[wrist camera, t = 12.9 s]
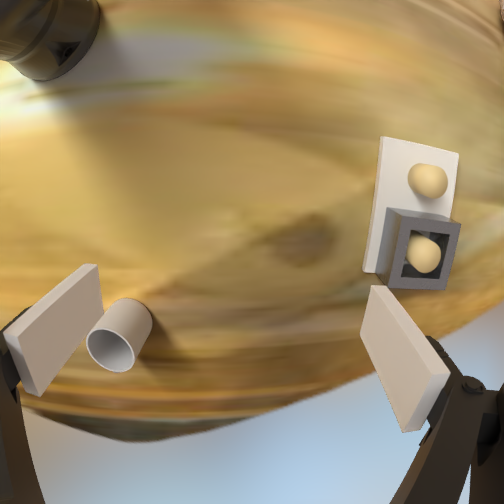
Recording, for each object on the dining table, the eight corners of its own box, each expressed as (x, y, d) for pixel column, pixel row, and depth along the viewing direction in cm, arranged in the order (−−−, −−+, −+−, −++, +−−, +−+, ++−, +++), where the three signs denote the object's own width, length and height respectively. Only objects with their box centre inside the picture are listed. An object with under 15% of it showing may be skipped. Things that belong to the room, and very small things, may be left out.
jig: (380, 136, 36) (401, 135, 30) (454, 153, 36) (481, 156, 30) (361, 268, 42) (377, 289, 36) (433, 273, 42) (454, 292, 36)
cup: (155, 303, 45) (135, 336, 36) (151, 355, 48) (134, 391, 40) (111, 291, 45) (84, 321, 36) (111, 343, 48) (89, 376, 39)
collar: (386, 206, 38) (402, 215, 33) (442, 214, 38) (461, 224, 33) (374, 272, 41) (387, 287, 36) (428, 275, 41) (444, 290, 36)
